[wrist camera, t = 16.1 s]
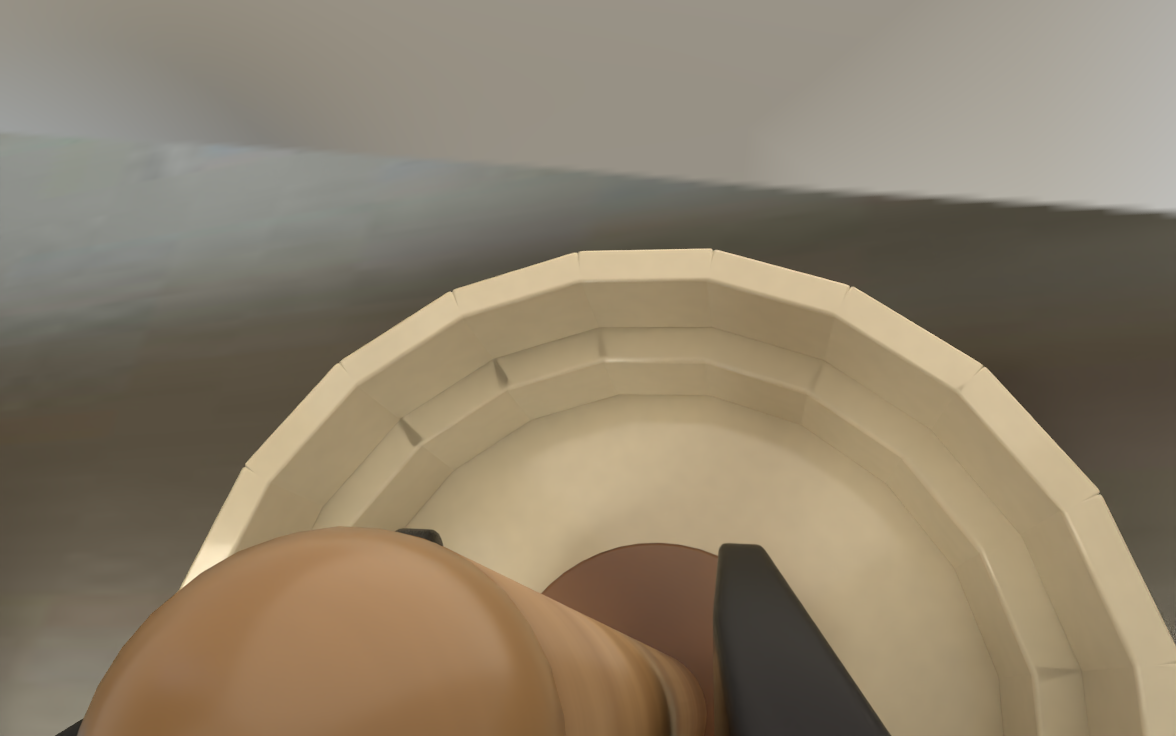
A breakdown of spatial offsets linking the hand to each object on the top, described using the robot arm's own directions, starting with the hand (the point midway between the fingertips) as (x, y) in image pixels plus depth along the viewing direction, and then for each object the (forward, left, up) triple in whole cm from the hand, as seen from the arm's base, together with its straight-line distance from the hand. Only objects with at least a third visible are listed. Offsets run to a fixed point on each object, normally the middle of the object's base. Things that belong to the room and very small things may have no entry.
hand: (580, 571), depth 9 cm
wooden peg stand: (-1, 0, -8) cm, 8 cm away
